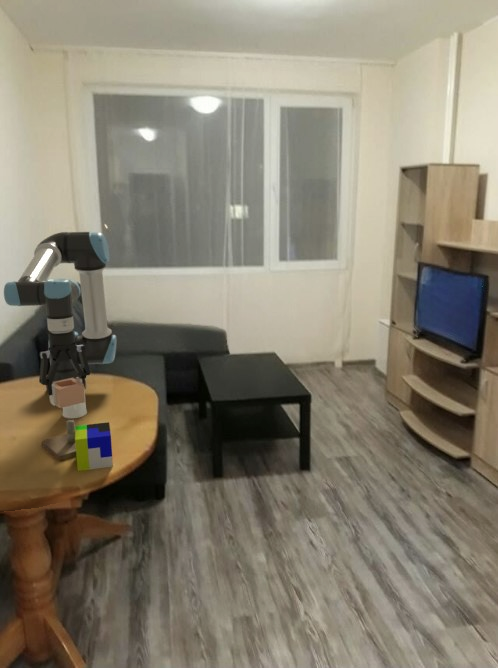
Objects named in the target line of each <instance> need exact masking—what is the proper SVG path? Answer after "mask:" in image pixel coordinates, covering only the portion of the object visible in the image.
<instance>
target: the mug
mask: <svg viewBox="0 0 498 668" xmlns="http://www.w3.org/2000/svg"><path fill="white" fill-rule="evenodd" d="M84 396H85V397H86V392H85V389H84ZM87 413H88V410H87V405H86V401H85V402H83V403H79V404H75V405H71V406H67V407H63V408H62V417H63V418H65V419H79V418H81V417H84V416H86V415H87Z"/></svg>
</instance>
